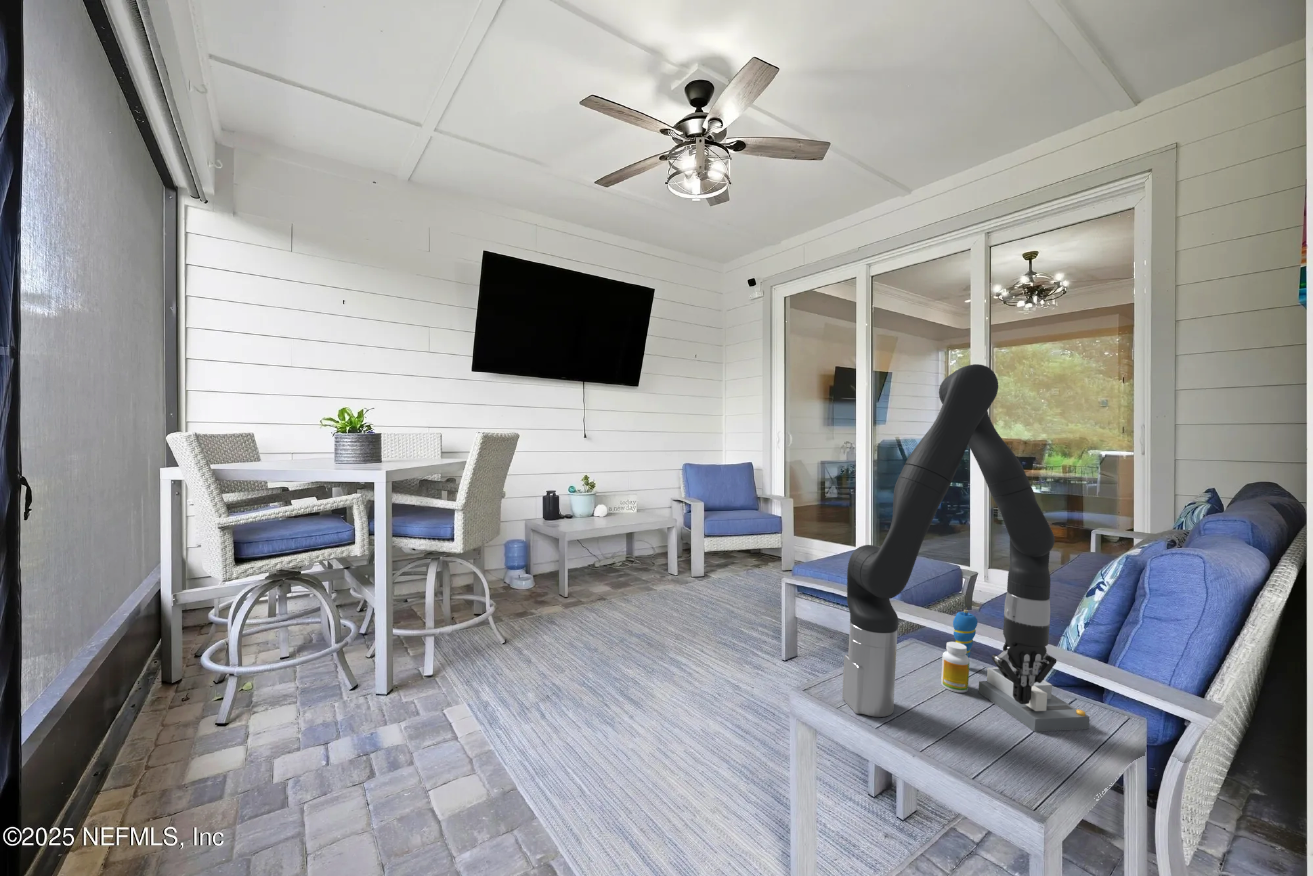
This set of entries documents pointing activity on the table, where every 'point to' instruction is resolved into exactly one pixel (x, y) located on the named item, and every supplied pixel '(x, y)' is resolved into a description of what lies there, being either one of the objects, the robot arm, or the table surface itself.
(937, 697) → the table surface
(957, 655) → the supplement bottle
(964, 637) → the ornament
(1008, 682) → the breaker panel
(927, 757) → the table surface
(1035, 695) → the breaker handle
